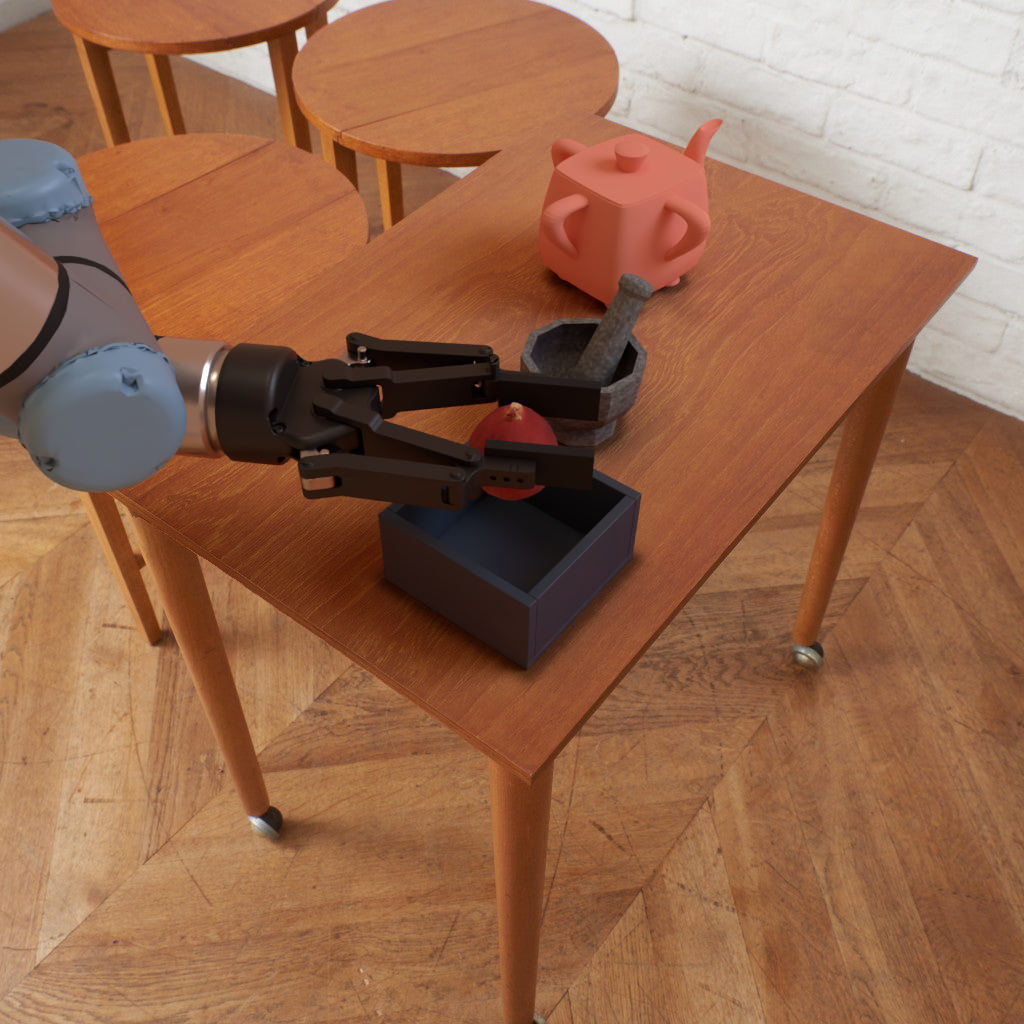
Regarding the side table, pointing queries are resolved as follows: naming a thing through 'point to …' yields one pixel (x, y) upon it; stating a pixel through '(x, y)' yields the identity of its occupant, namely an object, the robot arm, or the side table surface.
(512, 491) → the onion
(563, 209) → the teapot
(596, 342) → the mortar and pestle
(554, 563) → the dark blue open box
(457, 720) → the side table surface
